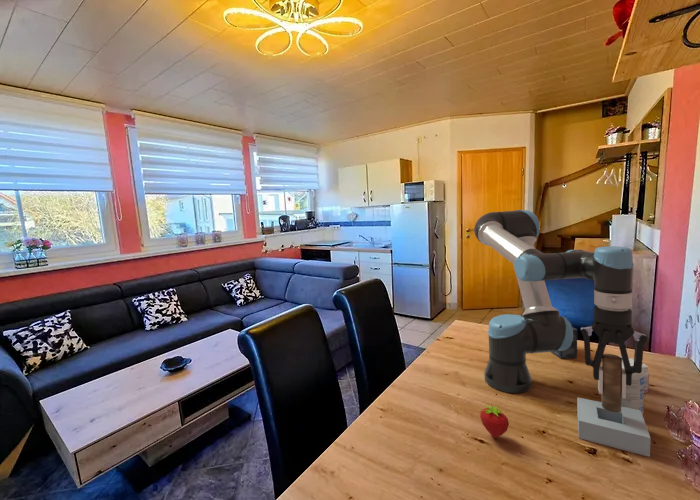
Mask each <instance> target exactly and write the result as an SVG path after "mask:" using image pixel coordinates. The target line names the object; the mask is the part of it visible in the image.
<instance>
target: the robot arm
mask: <svg viewBox="0 0 700 500" xmlns="http://www.w3.org/2000/svg"><path fill="white" fill-rule="evenodd" d="M540 228H541V224H540V220H539V219H538V216H537V215H536V214H535V213H534V212H532V211H531V210H527V209H525V210H524V209H523V210H522V209H517V210H516V209H515V210H508V211H507V210H506V211H505V210H504V211H492V212H488V213H486V214H483V215H481V216H480V218H478V219H477V221H476V222H475V225H474V228H473V232H474V233H473V234H474V236H475V238H476V240H478V242H479V243H481V244H482V245H484V246H488V247H491V248H492V249H493V250H495V251H496V252H498V253H499V255H501V256H502V257H503V258H505V259H506V260H507V261H509V263H511V264H512V265H513V269H514V272H515V273H514V274H515V276H516V280H517V284H518V287H519V292H520V295H521V298H522V302H523V307H524V312H523V313H522V316H521V315H520V314H519V315H518V314H509V313H508V314H507V313H505V314H500V315H497V316H494V317H492V318H491V319H490V321H489V322H488V330H487V335H488V354H489V356H488V357H489V359H488V362H487V363H486V364H487V365H486V367H485V369H484V374H483V375H484V381H485V383H486V382H487V383H488V384H489V385H488V384H487V383H486V384H487V385H488V386H490V387H491V386H492V387H491V388H493V387H494V388H493V389H495V388H496V389H495V390H497V389H498V390H497V391H500V390H501V392H505V393H509V394H510V393H511V394H521V393H522V394H523V393H526V392H528V391H530V390H531V389H532V387H533V382H532V381H533V379H532V377H531V373H530V370H529V368H528V365H527V363H526V362H527V359H526V357H527V354H540V353H541V354H543V353H552V352H557V351H563V350H566V349H568V348H569V347H570V345H571V342H572V340H573V329H572V327H573V326H572V323H571V322H570V320H568V318H567V317H565V316H562V315H560V311H559V309H557V308H556V307H553V306H552V302H551V299H550V295H549V292H548V289H547V285H546V281H552V280H553V281H554V280H569V279H586V280H590V281H593V282H594V283H593V284H594V288H593V290H594V291H593V294H594V296H593V304H594V305H595V306H594V309H593V310H594V311H593V323H592V324H591V325H590V326H586V327H585V326H581V327H580V332H581V334H582V336H583V346H584V362H585V365H586V366H590V367H592V368H593V369H592V370H593V371H592V373H593V374H592V377H593V379H594V381H595V380H596V381H598V384H597V387H598V388H597V389H598V394H599V395H602V394H603V369H602V357H603V354H605V349H606V347H607V344H611V343H613V344H617V345H618V348H619V352H620V356H622V360H623V364H624V368H625V370H622V392H621V396H622V398H625V399H626V385H629V386H631V384H632V374H633V373H641V372H642V363H643V358H644V345H645V344H646V342H647V341H648V337H647V335H646V334H645V333H644V332H638V331H636V330H634V328H633V326H632V324H633V322H632V321H633V311H632V310H631V309H632V308H633V274H634V273H633V271H634V260H633V259H634V258H633V250H632V249H631V248H629V247H626V246H614V245H613V246H611V245H609V246H607V245H606V246H599V247H596V248H595V249H594V251H587V250H584V249H568V250H566V251H565V252H564V251H563V252H553V253H545V252H542V251H540V250H538V249H537V248H535V243H536V241H537V240H538V239H537V237H538V236H539V235H540V232H541V229H540ZM592 332H594V333H595V334H596V336H597V337H598V345H597V347H596V350H595V355H594V356H593V357H594V358H593V359H591V338H590V337H591V336H592ZM632 336H633V340H634V341H635V343H634V352H633V353H634V354H633V355H634V357H633V359H634V366H630V362H629V358H630V357H629V355H628V349H627V346H626V341H628V340H629V339H630V338H631V337H632Z"/></svg>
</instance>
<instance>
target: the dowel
mask: <svg viewBox="0 0 700 500" xmlns="http://www.w3.org/2000/svg"><path fill="white" fill-rule="evenodd" d="M619 356H620V355H617V354H612V353H604V354H603V357H602V361H601V366H602V369H603V394H601V402H602V407H603V408H604V409H606V410H608V411H611V412H621V397H622V396H621V392H622V358H621V357H619Z"/></svg>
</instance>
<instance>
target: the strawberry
mask: <svg viewBox="0 0 700 500" xmlns="http://www.w3.org/2000/svg"><path fill="white" fill-rule="evenodd" d="M485 406H486V408H483V409H481V411H480V415H479V417H480V421H481V423H482V425H483V427H484V428H485V429H486V431H487V432H488V433H489V434H490V435H491V437H492V438H494V439H498V438H499V437H502V436H503V435H504V434H505V433H506V432H507V431H508V429H509V424H510V423H509V422H510V421H509V418H508V417H507V415H505V414H504V413H503V412H502V411H503V409H501V408H500V409H499V408H498V405H496V406H493V405H492V403H491V406H490V405H487V404H485Z"/></svg>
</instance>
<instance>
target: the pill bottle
mask: <svg viewBox="0 0 700 500" xmlns="http://www.w3.org/2000/svg"><path fill="white" fill-rule="evenodd" d="M642 365H643V369H644V394H645V393H648V392H649V384H650V372H649V367H648V365H647V364H646V363H643V362H642Z"/></svg>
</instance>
